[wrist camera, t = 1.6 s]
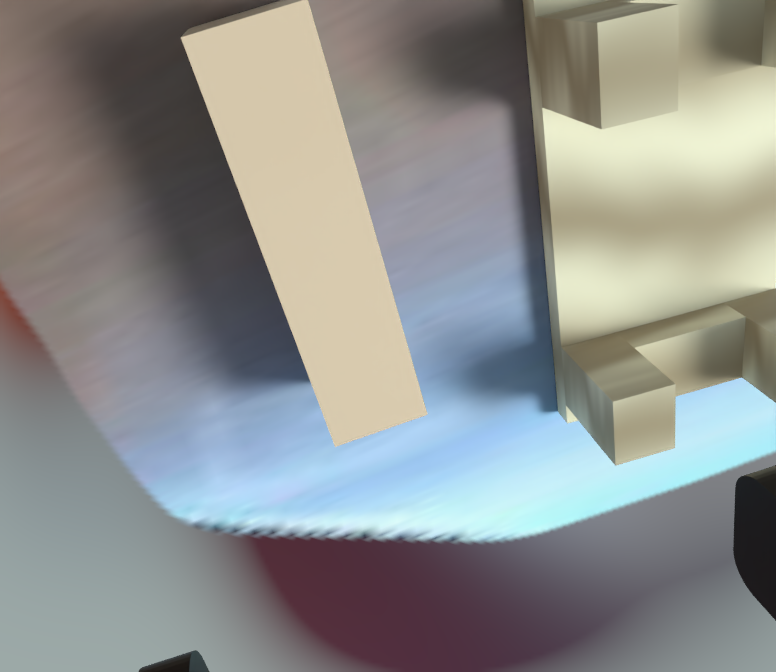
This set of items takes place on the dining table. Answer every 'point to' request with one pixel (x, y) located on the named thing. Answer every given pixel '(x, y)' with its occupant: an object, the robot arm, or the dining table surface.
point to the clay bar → (308, 211)
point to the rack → (655, 205)
